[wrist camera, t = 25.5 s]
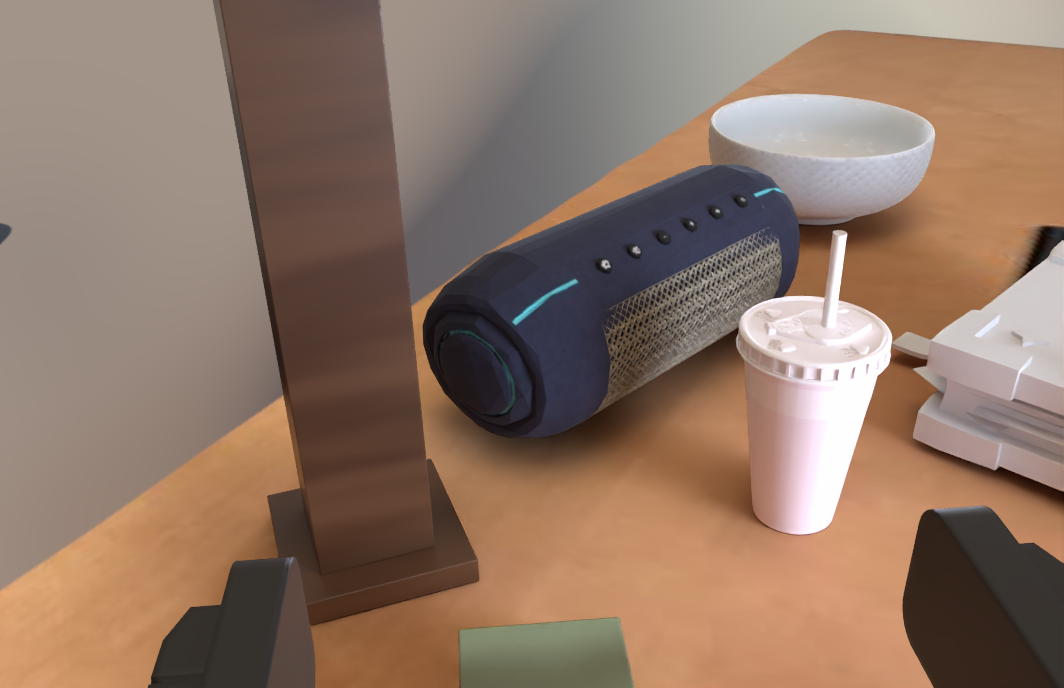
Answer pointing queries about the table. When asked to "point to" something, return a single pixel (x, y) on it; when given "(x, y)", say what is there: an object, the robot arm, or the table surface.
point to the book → (1000, 379)
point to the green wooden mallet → (545, 655)
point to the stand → (338, 304)
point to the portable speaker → (609, 299)
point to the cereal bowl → (826, 151)
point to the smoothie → (807, 397)
